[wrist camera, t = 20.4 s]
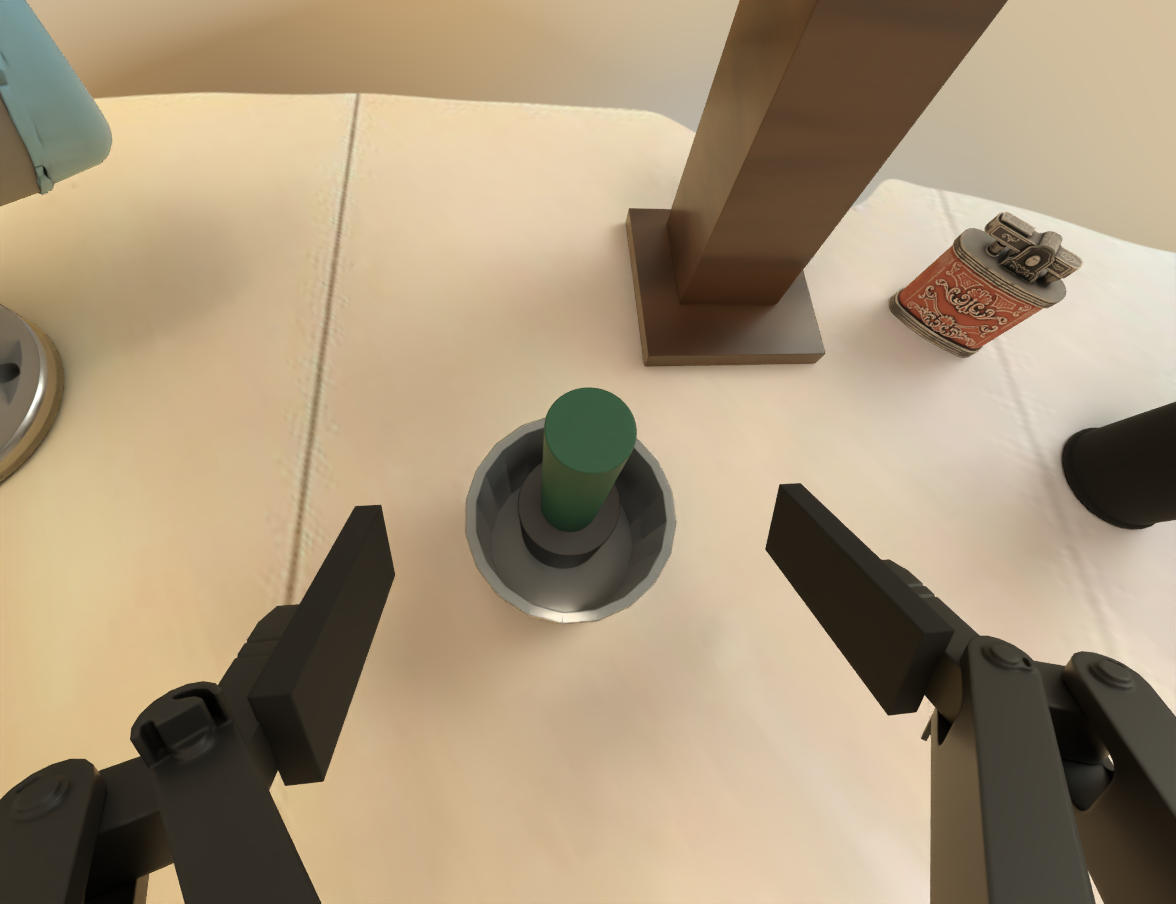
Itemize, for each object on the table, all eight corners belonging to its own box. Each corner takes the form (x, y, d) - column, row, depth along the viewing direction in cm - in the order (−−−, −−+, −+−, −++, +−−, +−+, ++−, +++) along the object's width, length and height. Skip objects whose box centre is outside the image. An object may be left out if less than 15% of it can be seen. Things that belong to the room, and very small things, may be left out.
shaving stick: (684, 507, 15) (662, 353, 17) (507, 516, 14) (503, 356, 16) (607, 565, 31) (600, 484, 33) (522, 571, 30) (520, 488, 32)
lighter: (980, 339, 41) (1112, 255, 32) (966, 365, 40) (1098, 287, 31) (898, 286, 42) (1002, 190, 33) (882, 311, 41) (985, 219, 32)
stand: (816, 369, 38) (1720, -443, 9) (644, 372, 37) (1074, -610, 7) (778, 220, 43) (1287, -620, 14) (625, 217, 42) (837, -746, 12)
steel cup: (453, 566, 31) (420, 543, 22) (541, 443, 34) (542, 380, 25) (587, 654, 30) (608, 669, 21) (663, 519, 33) (710, 482, 24)
